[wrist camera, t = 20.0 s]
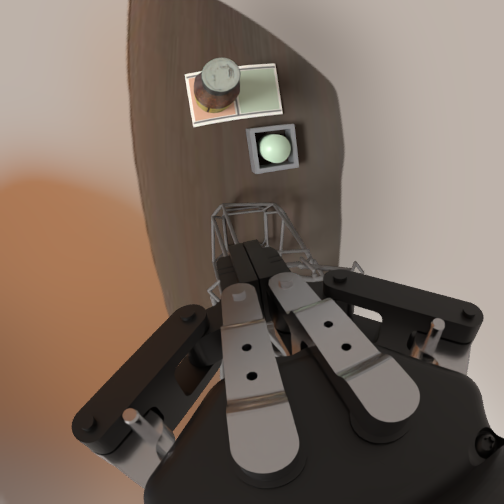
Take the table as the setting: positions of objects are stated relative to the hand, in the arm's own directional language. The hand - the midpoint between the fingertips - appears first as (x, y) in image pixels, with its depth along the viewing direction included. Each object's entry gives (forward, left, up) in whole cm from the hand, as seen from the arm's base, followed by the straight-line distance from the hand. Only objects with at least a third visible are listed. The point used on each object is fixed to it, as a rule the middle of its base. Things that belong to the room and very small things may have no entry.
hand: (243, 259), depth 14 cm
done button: (+1, -12, -37) cm, 39 cm away
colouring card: (+12, -7, -37) cm, 40 cm away
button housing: (+1, -12, -37) cm, 39 cm away
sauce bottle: (+12, -3, -36) cm, 39 cm away
